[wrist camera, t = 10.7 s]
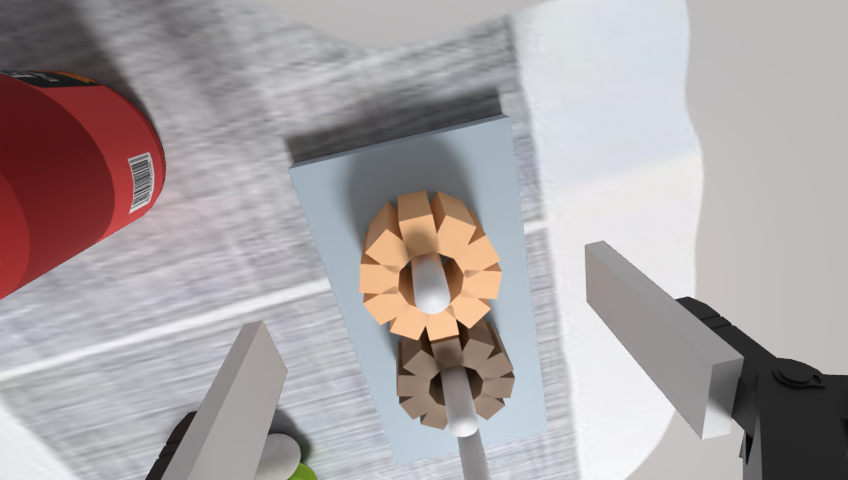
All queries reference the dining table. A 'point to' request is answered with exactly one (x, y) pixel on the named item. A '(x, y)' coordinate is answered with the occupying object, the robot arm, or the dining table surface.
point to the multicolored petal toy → (282, 460)
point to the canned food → (68, 169)
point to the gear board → (500, 219)
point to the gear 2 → (469, 349)
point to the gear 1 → (420, 234)
